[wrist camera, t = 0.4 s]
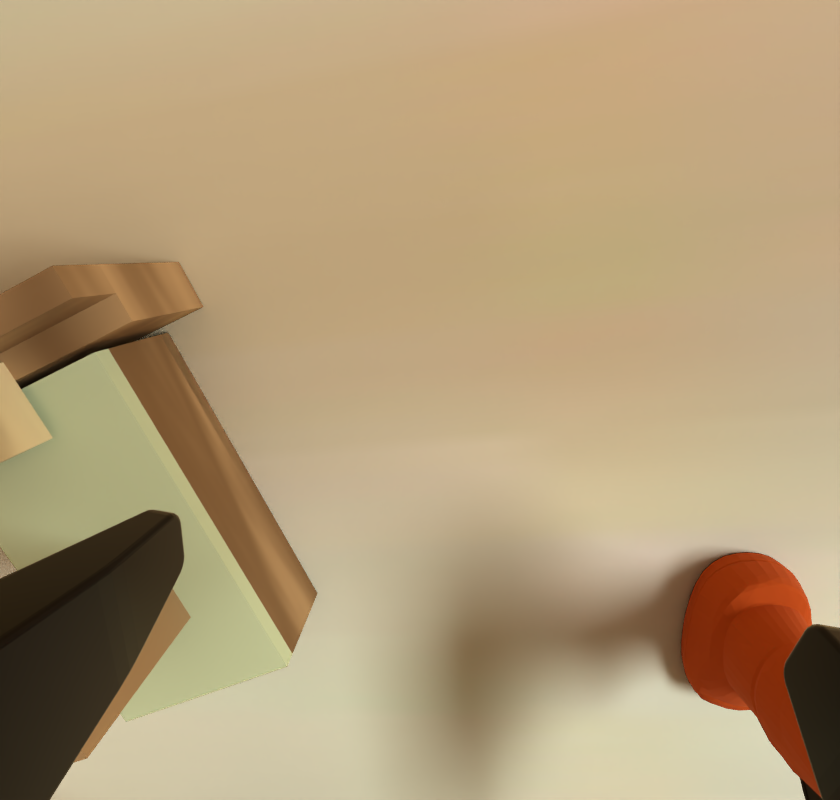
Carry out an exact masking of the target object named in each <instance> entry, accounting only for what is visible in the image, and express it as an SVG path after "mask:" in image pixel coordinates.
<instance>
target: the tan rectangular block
mask: <svg viewBox="0 0 840 800" xmlns="http://www.w3.org/2000/svg"><path fill="white" fill-rule="evenodd" d="M52 438H53V437H52V436H51V434H50V433H49V431H48V430H47V428H46V427H45V425H44V423H43V422H42V420H41V419H40V417H39V416H38V414H37V413H36V411H35V410H34V408H33V407H32V405H31V404H30V402H29V401H28V399H27V398H26V396H25V395H24V393H23V391H22V390H21V388H20V387H19V385H18V384H17V382H16V381H15V379H14V378H13V376H12V375H11V373H10V372H9V370H8V369H7V367H6V366H5V364H4V363H0V463H2V462H4V461H6V460H8V459H10V458H12V457H14V456H16V455H18V454H21V453H23V452H25V451H27V450H29V449H31V448H33V447H35V446H37V445H40V444H42V443H44V442H46V441H48V440H50V439H52Z"/></svg>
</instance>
